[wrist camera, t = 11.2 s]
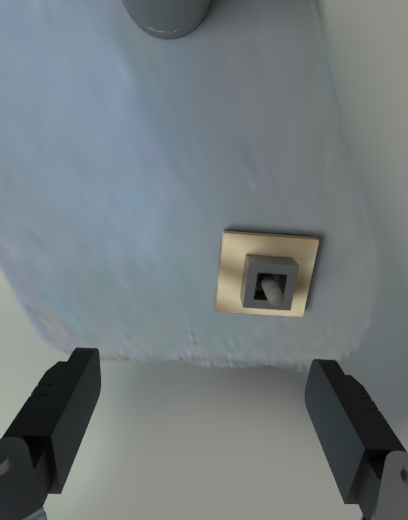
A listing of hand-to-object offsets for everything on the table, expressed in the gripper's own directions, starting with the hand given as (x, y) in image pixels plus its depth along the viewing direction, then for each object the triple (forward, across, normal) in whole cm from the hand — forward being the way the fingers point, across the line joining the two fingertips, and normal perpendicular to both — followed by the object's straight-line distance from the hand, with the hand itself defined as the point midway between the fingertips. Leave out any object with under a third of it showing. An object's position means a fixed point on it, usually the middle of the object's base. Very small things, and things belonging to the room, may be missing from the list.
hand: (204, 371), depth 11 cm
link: (+27, -9, +8) cm, 29 cm away
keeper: (+28, -9, +8) cm, 30 cm away
